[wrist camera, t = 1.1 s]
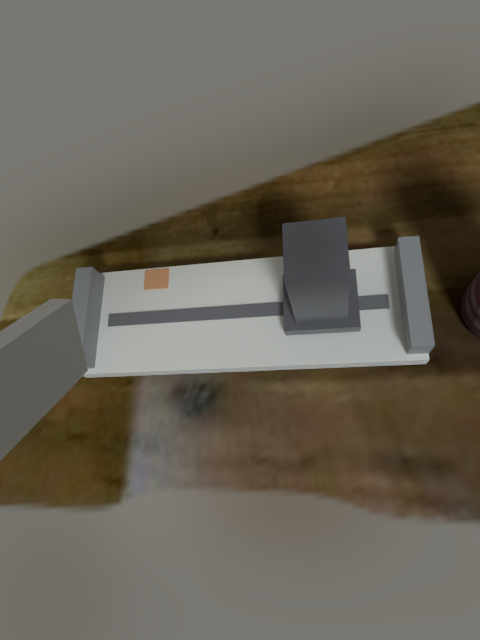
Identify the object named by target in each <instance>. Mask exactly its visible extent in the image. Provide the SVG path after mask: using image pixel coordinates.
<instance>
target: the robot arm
mask: <svg viewBox="0 0 480 640" xmlns="http://www.w3.org/2000/svg"><path fill="white" fill-rule="evenodd" d="M87 371H88V369H87V364H86V360H85V355H84V351H83V347H82V342H81V338H80V334H79V329H78V325H77V320H76V316H75V312H74V307H73V303H72V299H50V300H48V301H47V302H45V303H44V304H42V305H41V306H39V307H37V308H36V309H34V310H33V311H31V312H30V313H28V314H27V315H25V316H24V317H22V318H20V319H19V320H17V321H16V322H14V323H13V324H11V325H10V326H8V327H6V328H5V329H3V330H2V331H0V460H1V459H2V458H3V457H4V456H5V455H6V454H7V453H8V452H9V451H10V450H11V449H12V448H13V447H14V446H15V445H16V444H17V443H18V442H19V441H20V440H21V439H22V438H23V437H24V436H25V435H26V434H27V433H28V432H29V431H30V430H31V429H32V428H33V427H34V426H35V424H36V423H37V422H38V421H39V420H40V419H41V418H42V417H43V416H44V415H45V414H46V413H47V412H48V411H49V410H50V409H51V408H52V407H53V406H54V405H55V404H56V403H57V402H58V401H59V400H60V399H61V398H62V397H63V396H64V395H65V394H66V393H67V392H68V391H69V390H70V389H71V387H72V386H73V385H74V384H75V383H76V382H77V381H78V380H79V379H80V378H81V377H82V376H83V375H84V374H85V373H86V372H87Z"/></svg>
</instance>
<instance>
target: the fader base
mask: <svg viewBox="0 0 480 640" xmlns="http://www.w3.org/2000/svg"><path fill="white" fill-rule="evenodd" d="M349 262H350V269H356V278H357V289H358V300H359V311H360V323H361V329H360V331H358V332H340V333H322V334H304V335H285V332H284V306H283V275H284V267H283V256H281V257H270V258H259V259H248V260H237V261H226V262H215V263H204V264H193V265H182V266H171V267H160V268H149V269H138V270H127V271H116V272H106V273H99V272H98V271H97V270H96V269H94V268H93V267H83V268H76V274H75V281H74V289H73V296H72V303H73V307H74V312H75V316H76V320H77V325H78V329H79V334H80V338H81V342H82V347H83V351H84V355H85V360H86V364H87V369H88V371H87V372H86V373H85V374H84V375H83V376H84V377H86V378H91V377H115V376H140V375H165V374H190V373H215V372H240V371H264V370H289V369H314V368H339V367H364V366H389V365H413V364H426V363H427V362H428V361H429V352H430V351H431V350H432V349H433V347H434V346H435V342H434V335H433V328H432V321H431V314H430V307H429V300H428V293H427V286H426V279H425V273H424V266H423V259H422V252H421V245H420V238H419V236H410V237H399V238H398V239H397V243H396V246H390V247H379V248H368V249H357V250H349Z"/></svg>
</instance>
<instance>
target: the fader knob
mask: <svg viewBox="0 0 480 640" xmlns="http://www.w3.org/2000/svg"><path fill="white" fill-rule="evenodd" d="M282 235H283V267H284V275H283V306H284V332H285V335H304V334H322V333H340V332H358V331H360V329H361V323H360V311H359V300H358V289H357V278H356V269H350V262H349V250H348V239H347V227H346V217H339V218H330V219H320V220H311V221H301V222H292V223H283V224H282Z"/></svg>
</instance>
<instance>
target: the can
mask: <svg viewBox="0 0 480 640" xmlns="http://www.w3.org/2000/svg"><path fill="white" fill-rule="evenodd" d="M461 313H462V317H463V320H464V322H465V324H466V325H467V327H468V328H469V330H470V331H471V332H472V333H473V334H475V335H476V336H477V337H478V338H480V271H479V273H478V274H477V275H476V277H475V278H474V279H473V281H472V282H471V284H470V285H469V286H468V288H467V289H466V291H465V293H464V295H463V297H462V301H461Z"/></svg>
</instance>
